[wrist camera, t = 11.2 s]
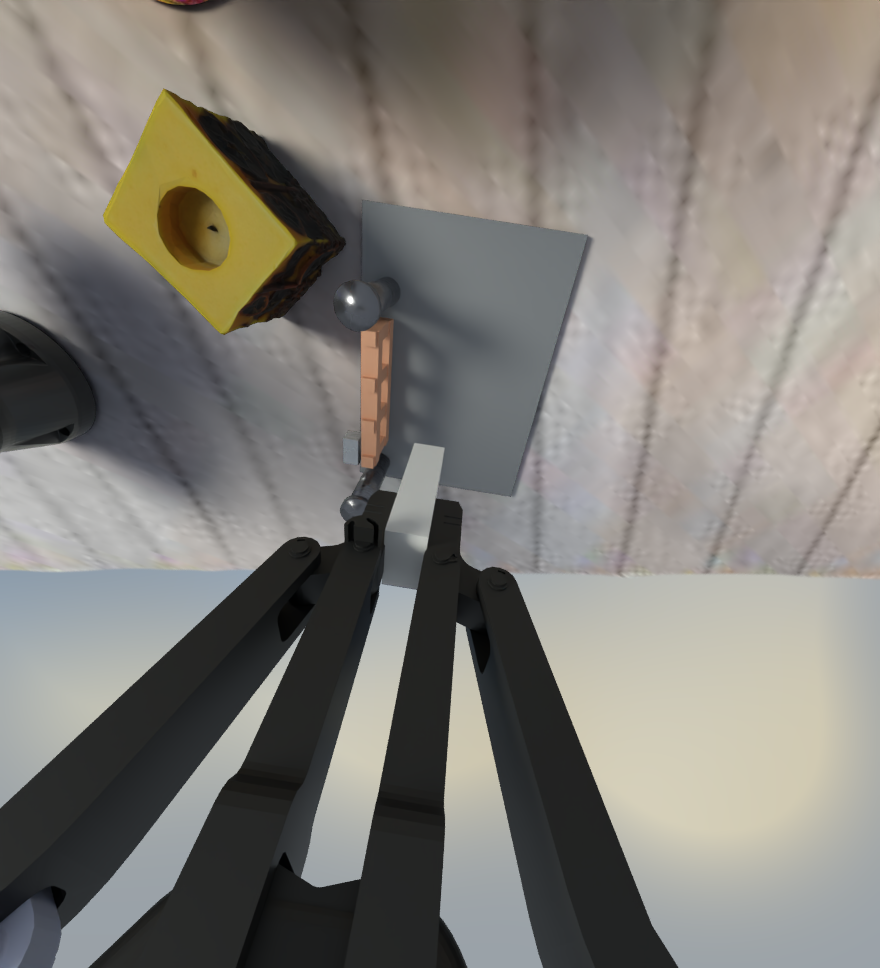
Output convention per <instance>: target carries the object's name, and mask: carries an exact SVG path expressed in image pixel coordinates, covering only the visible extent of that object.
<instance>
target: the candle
mask: <svg viewBox="0 0 880 968" xmlns="http://www.w3.org/2000/svg"><path fill="white" fill-rule="evenodd" d="M103 217H104V222H105V224H106V225H107V226H108V227H109V228H110V229H111V230H112V231H113V232H114V233H115V234H116V235H117V236H118V237H120V238H121V239H122V240H123V241H124V242H125V243H126V244H128V245H129V246H130V247H131V248H132V249H133V250H134V251H136V252H137V253H138V254H139V255H140V256H142V257H143V258H144V259H145V260H146V261H147V262H148V263H149V264H150V265H151V266H152V267H153V268H155V269H156V270H157V271H158V272H159V273H160V274H161V275H162V276H163V277H164V278H165V279H166V280H167V281H168V282H169V283H170V284H171V285H172V286H173V287H174V288H175V289H176V290H177V291H178V292H180V293H181V294H182V295H183V296H184V297H185V298H186V299H187V300H188V301H189V302H190V303H191V304H192V305H193V306H194V307H195V308H196V309H197V311H198V312H199V313H200V314H201V315H202V316H203V317H204V318H205V319H206V320H207V321H208V322H209V323H210V324H211V325H212V326H213V327H214V328H215V329H216V330H217V331H218V332H219V333H221V334H223V335H225V334H227V333H229V332H231V331H234V330H236V329H239V328H243V327H249V326H250V325H252V324H255V323H257V322H268V321H270V320H272V319H273V318H280V317H282V316H284V315H285V314H286V313H287V312H288V310H289V309H290V308H291V307H292V306H293V305H294V304H295V302H296V301H298V300H299V299H300V297H301V296H303V295H304V294H305V292H306V291H307V290H308V288H309V287H310V286H312V284H313V283H314V282H315V281H316V280H317V277H319V276H321V267H322V265H323V264H325V263H326V262H327V261H329V260H330V258H333V257H335V256H336V255H338V253H339V252H340V251H341V250H342V249H343V247H344V246H345V245H346V243H345V239H344V238H342V237H340V236H339V235H338V232H337V231H336V229H335V227H334V226H333V225H332V224H331V223H330V222H329V221H328V219H327V217H326V216H325V214H324V213H323V212H322V211H321V210H320V209H319V208H318V207H317V205H316V204H315V203H314V201H313V200H312V199H311V197H310V196H309V195H308V194H307V193H306V191H305V190H304V189H302V188H301V187H300V186H299V183H298V181H297V180H296V179H294V178H293V177H292V175H291V174H290V172H289V171H287V170H286V169H285V168H284V167H283V166H282V164H281V163H280V162H279V161H278V160H277V159H276V158H275V157H274V156H273V154H272V153H271V152H270V151H269V149H268V147H267V145H266V143H265V141H264V140H263V139H262V138H260V137H259V136H258V135H257V134H256V133H255V132H254V131H250V130H249V129H248V128H247V127H246V126H245V125H243V124H242V123H241V122H239V121H233V120H231V119H230V118H228V117H225V116H220V115H218V114H215V113H213V112H210V111H208V110H206V109H205V108H203V107H197V106H195V105H194V104H193V103H192V102H190V101H187V100H184V99H182V98H180V97H179V96H178V95H176V94H174V93H172V92H170V91H168V90H166V89H163V91H162V92H161V94H160V96H159V98H158V100H157V101H156V104H155V106H154V108H153V110H152V113H151V115H150V117H149V119H148V122H147V124H146V126H145V129H144V131H143V133H142V136H141V138H140V141H139V143H138V145H137V147H136V150H135V152H134V154H133V156H132V158H131V161H130V163H129V165H128V167H127V169H126V171H125V173H124V175H123V176H122V178H121V180H120V181H119V183H118V185H117V187H116V189H115V192H114V194H113V196H112V198H111V200H110V202H109V204H108V206H107V208H106V210H105V212H104V214H103Z"/></svg>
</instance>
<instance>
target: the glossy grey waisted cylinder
mask: <svg viewBox="0 0 880 968" xmlns="http://www.w3.org/2000/svg"><path fill="white" fill-rule="evenodd" d="M400 294H401V292H400V287H399V285H398V283H397V282H396V281H395V280H394V279H393V278H390V277H383V278H380V279H377V280H374V281H371V282H364V281H361V280H352V281H348V282H345V283H344V284H342V285H341V286H340V287H339V288H338V289H337V291H336V293H335V296H334V309H335V313H336V315H337V317H338V319H339V320H340V322H341V323H342V324H343V325H344V326H345V327H347V328H349V329H350V330H353V331H359V332H360V331H366V330H368V329H370V328H371V327H372V326H374V325H375V324H376V323H377V322H378V320H379V318H380V315H381V313H382V312H384V311H385V310H387V309H388V308H390V307H391V306H393V305H394V304H396V303H397V302H398V300H399V298H400Z"/></svg>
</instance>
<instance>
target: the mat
mask: <svg viewBox="0 0 880 968" xmlns="http://www.w3.org/2000/svg"><path fill="white" fill-rule="evenodd" d="M587 237H588V235H584V234H578V233H572V232H565V231H559V230H552V229H546V228H540V227H533V226H527V225H520V224H514V223H508V222H501V221H495V220H488V219H482V218H475V217H469V216H463V215H456V214H450V213H443V212H437V211H431V210H424V209H418V208H411V207H405V206H399V205H392V204H386V203H379V202H373V201H366V200H362V267H361V281H364V282H371V281H374V280H377V279H380V278H383V277H390V278H393V279H394V280H395V281H396V282H397V283H398V285H399V287H400V292H401V294H400V298H399V300H398V302H397V303H396V304H394V305H393V306H391V307H390V308H388V309H387V310H385V311H384V312H382V313H381V315H380V317H384V318H391V319H394V325H393V347H392V370H391V393H390V416H389V438H388V442H387V444H386V446H384V447H383V449H382V451H381V453H383V454H385V455H386V456H387V457H388V458H389V460H390V466H389V468H388V471H387V473H386V475H385V476H387V477H393V478H399V479H402V478H403V475H404V472H405V470H406V467H407V464H408V461H409V458H410V455H411V452H412V449H413V446H414V443H419V444H425V445H431V446H437V447H443V448H445V449H444V455H443V462H442V468H441V475H440V481H439V485H442V486H448V487H455V488H461V489H467V490H473V491H479V492H485V493H492V494H498V495H504V496H510V497H511V494H512V491H513V487H514V484H515V480H516V477H517V474H518V470H519V467H520V463H521V460H522V457H523V453H524V450H525V447H526V443H527V440H528V436H529V433H530V430H531V426H532V423H533V420H534V416H535V413H536V409H537V406H538V403H539V399H540V396H541V392H542V389H543V386H544V382H545V379H546V376H547V372H548V369H549V365H550V362H551V359H552V355H553V352H554V348H555V345H556V342H557V338H558V335H559V332H560V328H561V325H562V321H563V318H564V315H565V311H566V308H567V304H568V301H569V298H570V294H571V291H572V288H573V284H574V281H575V277H576V274H577V271H578V267H579V264H580V261H581V257H582V254H583V250H584V247H585V244H586V240H587ZM360 432H361V408H360ZM364 470H365V467H361V461H360V472H362V473H363V472H364Z"/></svg>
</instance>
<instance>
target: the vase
mask: <svg viewBox="0 0 880 968" xmlns="http://www.w3.org/2000/svg"><path fill="white" fill-rule="evenodd" d="M158 1H161V2H165V3H168V4H175V5H193V4H198V3H202V2H205V1H208V0H158Z"/></svg>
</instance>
